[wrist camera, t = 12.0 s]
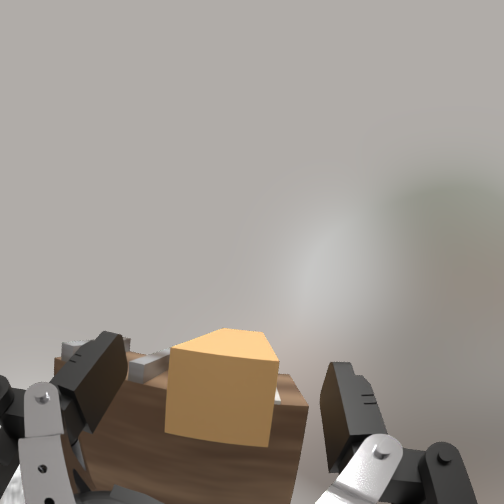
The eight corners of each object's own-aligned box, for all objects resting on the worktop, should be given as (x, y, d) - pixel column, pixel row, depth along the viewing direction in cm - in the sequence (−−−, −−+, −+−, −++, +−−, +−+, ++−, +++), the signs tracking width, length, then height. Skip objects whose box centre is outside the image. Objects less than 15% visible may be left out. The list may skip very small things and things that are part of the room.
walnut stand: (120, 529, 24) (115, 335, 31) (257, 555, 24) (290, 361, 30) (89, 572, 13) (55, 340, 19) (258, 610, 12) (311, 386, 19)
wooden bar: (219, 361, 32) (223, 327, 33) (258, 366, 32) (262, 332, 33) (164, 432, 11) (170, 347, 12) (268, 447, 11) (279, 361, 11)
